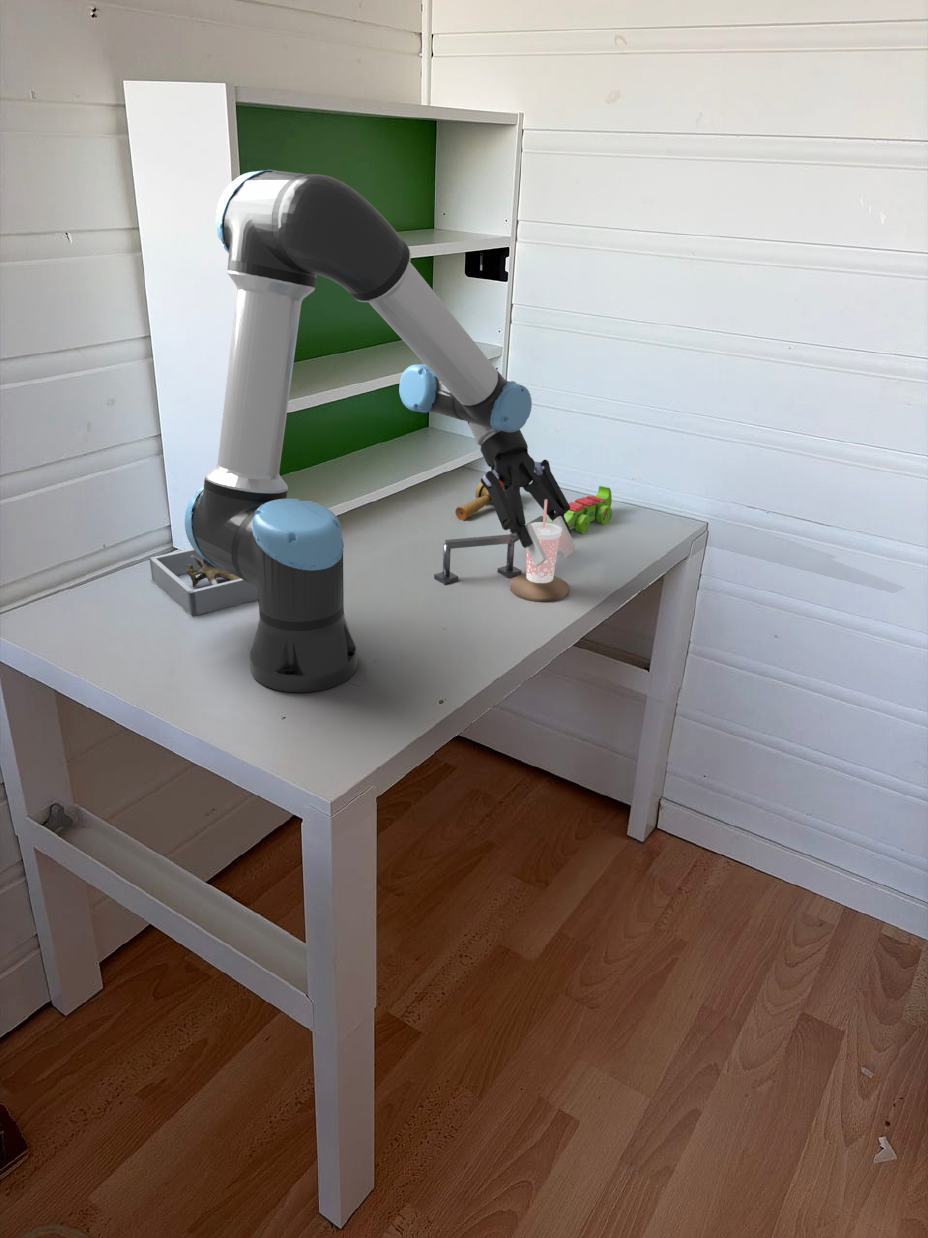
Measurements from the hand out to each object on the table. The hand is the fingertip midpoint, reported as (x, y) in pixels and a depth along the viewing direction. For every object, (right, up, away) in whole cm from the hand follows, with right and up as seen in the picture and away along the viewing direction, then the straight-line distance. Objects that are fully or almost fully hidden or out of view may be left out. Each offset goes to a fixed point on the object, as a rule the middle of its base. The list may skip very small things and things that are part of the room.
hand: (556, 558), depth 155 cm
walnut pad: (-2, -5, +6) cm, 8 cm away
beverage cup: (-2, -3, +5) cm, 6 cm away
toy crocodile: (+8, +9, +35) cm, 37 cm away
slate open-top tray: (-58, -5, +2) cm, 58 cm away
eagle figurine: (-57, -5, +2) cm, 57 cm away
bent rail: (-8, -1, +13) cm, 15 cm away
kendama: (-10, +12, +41) cm, 44 cm away
